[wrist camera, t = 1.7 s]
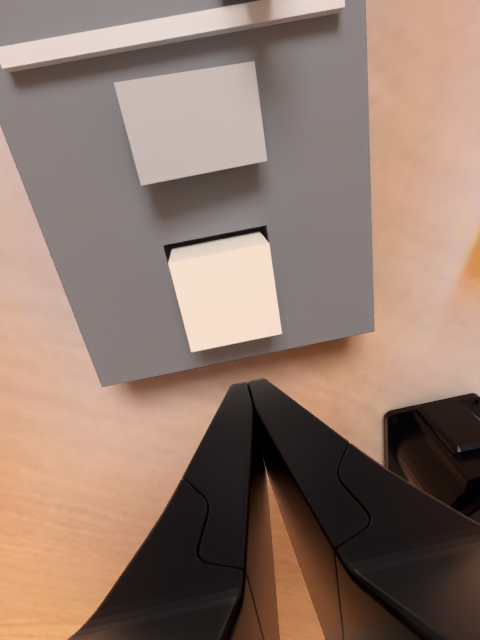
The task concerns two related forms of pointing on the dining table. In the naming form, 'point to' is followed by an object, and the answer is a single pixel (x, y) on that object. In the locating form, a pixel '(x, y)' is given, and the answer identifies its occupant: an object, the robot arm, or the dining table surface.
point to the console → (198, 190)
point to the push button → (226, 290)
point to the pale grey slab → (193, 121)
